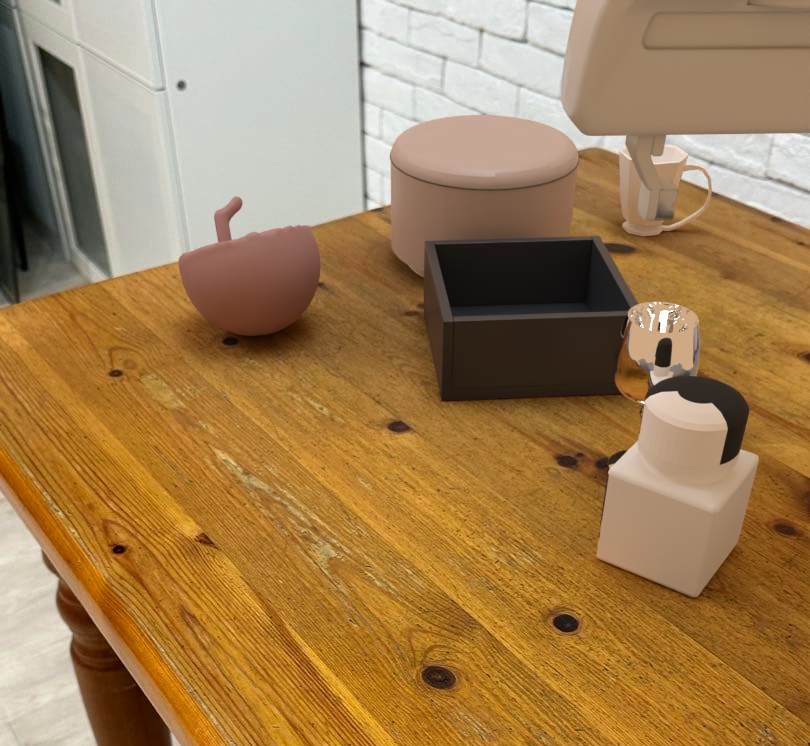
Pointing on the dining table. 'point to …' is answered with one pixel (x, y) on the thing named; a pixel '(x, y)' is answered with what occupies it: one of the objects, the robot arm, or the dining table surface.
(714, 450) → the medicine bottle
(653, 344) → the wineglass
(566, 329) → the black bin
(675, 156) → the cup
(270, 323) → the coconut drink
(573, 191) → the container
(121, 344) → the dining table surface
